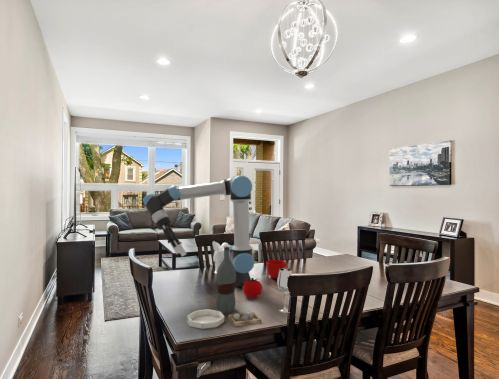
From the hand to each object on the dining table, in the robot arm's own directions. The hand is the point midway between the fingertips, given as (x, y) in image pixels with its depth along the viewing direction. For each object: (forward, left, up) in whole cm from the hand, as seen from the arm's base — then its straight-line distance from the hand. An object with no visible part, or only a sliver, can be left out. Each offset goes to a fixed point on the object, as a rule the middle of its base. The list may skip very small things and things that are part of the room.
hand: (181, 254), depth 174 cm
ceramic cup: (-65, -21, -24) cm, 72 cm away
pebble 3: (-24, +36, -23) cm, 49 cm away
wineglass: (-43, +32, -24) cm, 59 cm away
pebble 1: (-18, +36, -23) cm, 46 cm away
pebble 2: (-21, +39, -23) cm, 50 cm away
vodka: (-17, +22, -24) cm, 37 cm away
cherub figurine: (-33, -42, -24) cm, 58 cm away
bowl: (-5, +32, -23) cm, 40 cm away
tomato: (-36, +8, -24) cm, 44 cm away
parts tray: (-21, +37, -23) cm, 49 cm away
